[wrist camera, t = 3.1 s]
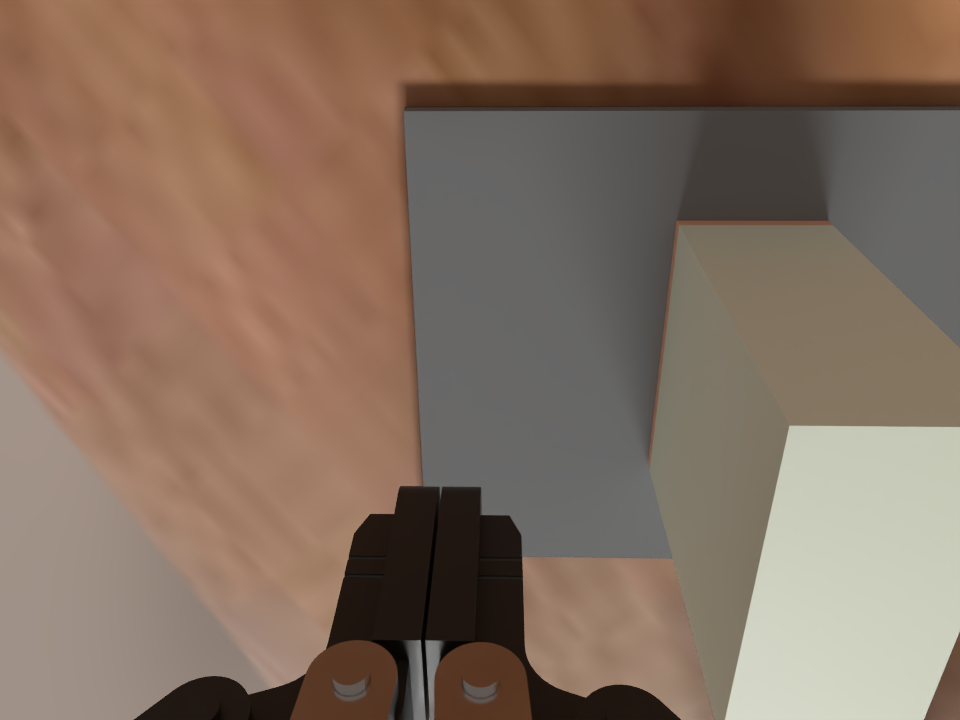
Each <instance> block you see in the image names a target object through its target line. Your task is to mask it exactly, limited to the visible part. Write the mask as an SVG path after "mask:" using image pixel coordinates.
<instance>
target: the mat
mask: <svg viewBox="0 0 960 720" xmlns="http://www.w3.org/2000/svg"><path fill="white" fill-rule="evenodd" d="M403 112H404V131H405V150H406V169H407V187H408V206H409V225H410V244H411V263H412V282H413V301H414V320H415V338H416V357H417V376H418V395H419V414H420V433H421V452H422V471H423V486H428V487H440V497H441V491H442V487H443V486H444V487H481V495H482V515H510V517H511V519H512V520H513V522H514V524H515V525H516V527H517V529H518V530H519V532H520V533H521V535H522V557H592V558H669V559H673V558H672V554H671V551H670V547H669V543H668V539H667V535H666V531H665V527H664V524H663V520H662V516H661V512H660V508H659V504H658V500H657V496H656V493H655V489H654V485H653V481H652V477H651V473H650V469H649V466H648V458H649V449H650V441H651V432H652V424H653V415H654V407H655V398H656V390H657V382H658V373H659V365H660V356H661V348H662V339H663V331H664V322H665V314H666V305H667V297H668V289H669V280H670V272H671V263H672V255H673V246H674V238H675V229H676V221H829V222H830V223H831V224H832V225H833V226H834V227H835V228H836V229H837V230H838V231H839V232H840V233H841V234H842V235H843V236H845V237H846V238H847V239H848V240H849V241H850V242H851V243H852V244H853V245H854V246H855V247H856V248H857V249H858V250H859V251H860V252H861V253H862V254H863V255H864V256H865V257H866V258H867V259H868V260H869V261H870V262H871V263H872V264H874V265H875V266H876V267H877V268H878V269H879V270H880V271H881V272H882V273H883V274H884V275H885V276H886V277H887V278H888V279H889V280H890V281H891V282H892V283H893V284H894V285H895V286H896V287H897V288H898V289H899V290H900V291H901V292H902V293H904V294H905V295H906V296H907V297H908V298H909V299H910V300H911V301H912V302H913V303H914V304H915V305H916V306H917V307H918V308H919V309H920V310H921V311H922V312H923V313H924V314H925V315H926V316H927V317H928V318H929V319H930V320H931V321H933V322H934V323H935V324H936V325H937V326H938V327H939V328H940V329H941V330H942V331H943V332H944V333H945V334H946V335H947V336H948V337H949V338H950V339H951V340H952V341H953V342H954V343H955V344H956V345H957V346H958V347H959V348H960V106H861V107H405V109H404V111H403Z"/></svg>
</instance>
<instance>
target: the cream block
mask: <svg viewBox="0 0 960 720" xmlns="http://www.w3.org/2000/svg"><path fill="white" fill-rule="evenodd" d="M648 466H649V469H650V473H651V477H652V481H653V485H654V489H655V493H656V496H657V500H658V504H659V508H660V512H661V516H662V520H663V524H664V527H665V531H666V535H667V539H668V543H669V547H670V551H671V554H672V558H673V562H674V566H675V570H676V574H677V578H678V581H679V585H680V589H681V593H682V597H683V601H684V605H685V609H686V612H687V616H688V620H689V624H690V628H691V632H692V636H693V639H694V643H695V647H696V651H697V655H698V659H699V663H700V667H701V670H702V674H703V678H704V682H705V686H706V690H707V694H708V697H709V701H710V705H711V709H712V713H713V717H714V720H924V718H925V715H926V713H927V711H928V708H929V706H930V703H931V701H932V698H933V696H934V693H935V691H936V688H937V686H938V684H939V681H940V679H941V676H942V674H943V671H944V669H945V666H946V664H947V661H948V659H949V657H950V654H951V652H952V649H953V647H954V644H955V642H956V639H957V637H958V634H959V632H960V348H959V347H958V346H957V345H956V344H955V343H954V342H953V341H952V340H951V339H950V338H949V337H948V336H947V335H946V334H945V333H944V332H943V331H942V330H941V329H940V328H939V327H938V326H937V325H936V324H935V323H934V322H933V321H931V320H930V319H929V318H928V317H927V316H926V315H925V314H924V313H923V312H922V311H921V310H920V309H919V308H918V307H917V306H916V305H915V304H914V303H913V302H912V301H911V300H910V299H909V298H908V297H907V296H906V295H905V294H904V293H902V292H901V291H900V290H899V289H898V288H897V287H896V286H895V285H894V284H893V283H892V282H891V281H890V280H889V279H888V278H887V277H886V276H885V275H884V274H883V273H882V272H881V271H880V270H879V269H878V268H877V267H876V266H875V265H874V264H872V263H871V262H870V261H869V260H868V259H867V258H866V257H865V256H864V255H863V254H862V253H861V252H860V251H859V250H858V249H857V248H856V247H855V246H854V245H853V244H852V243H851V242H850V241H849V240H848V239H847V238H846V237H845V236H843V235H842V234H841V233H840V232H839V231H838V230H837V229H836V228H835V227H834V226H833V225H832V224H831V223H830V222H829V221H676V229H675V238H674V246H673V255H672V263H671V272H670V280H669V289H668V297H667V305H666V314H665V322H664V331H663V339H662V348H661V356H660V365H659V373H658V382H657V390H656V398H655V407H654V415H653V424H652V432H651V441H650V449H649V458H648Z"/></svg>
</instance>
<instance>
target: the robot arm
mask: <svg viewBox="0 0 960 720" xmlns="http://www.w3.org/2000/svg"><path fill="white" fill-rule="evenodd" d="M429 717H430V720H681V719H680V718H678V717H677V716H676V715H675V714H674V713H673V712H672V711H671V710H670V709H669V708H668V707H666V706H665V705H664V704H663V703H662V702H661V701H660V700H659V699H657V698H656V697H655V696H654V695H652V694H650V693H648V692H647V691H645V690H642V689H640V688H637V687H633V686H628V685H611V686H605V687H603V688H600V689H598V690H596V691H594V692H592V693H591V694H590V695H589V696H588V697H587V698H585V697H582V696H578V695H575V694H572V693H569V692H566V691H563V690H561V689H558V688H556V687H554V686H552V685H550V684H549V683H547V682H546V681H544V680H543V679H542V678H541V677H540V676H539V675H538V674H537V673H536V672H535V671H534V669H533V668H532V667H531V665H530V663H529V661H528V659H527V656H526V653H525V641H524V606H523V570H522V535H521V533H520V532H519V530H518V529H517V527H516V525H515V524H514V522H513V520H512V519H511V517H510V515H482V495H481V487H444V486H443V487H442V491H441V497H440V487H428V486H400V488H399V492H398V497H397V502H396V508H395V513H394V514H370V515H369V516H368V517H367V519H366V520H365V521H364V522H363V523H362V525H361V526H360V527H359V528H358V529H357V531H356V532H355V533H354V537H353V541H352V545H351V549H350V553H349V560H348V562H347V566H346V570H345V578H343V583H342V587H341V591H340V595H339V599H338V603H337V608H336V612H335V616H334V620H333V624H332V629H331V633H330V637H329V641H328V645H327V648H326V650H324V651H323V652H322V653H320V654H319V655H318V656H317V657H316V658H315V659H314V660H313V662H312V663H311V665H310V666H309V668H308V670H307V672H306V674H305V675H303V676H302V677H300V678H298V679H297V680H295V681H293V682H290V683H288V684H285V685H282V686H279V687H276V688H272V689H268V690H265V691H261V692H257V693H253V694H250V695H248V694H247V692H246V691H245V689H244V688H243V687H242V685H240V684H239V683H238V682H236V681H234V680H232V679H230V678H226V677H219V676H210V677H203V678H198V679H195V680H192V681H189V682H187V683H185V684H183V685H181V686H180V687H178V688H177V689H175V690H173V691H172V692H171V693H169V694H168V695H167V696H165V697H164V698H163V699H161V700H160V701H159V702H157V703H156V704H155V705H153V706H152V707H150V708H149V709H148V710H146V711H145V712H144V713H142V714H141V715H140V716H138V717H137V718H136V719H134V720H429Z"/></svg>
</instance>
